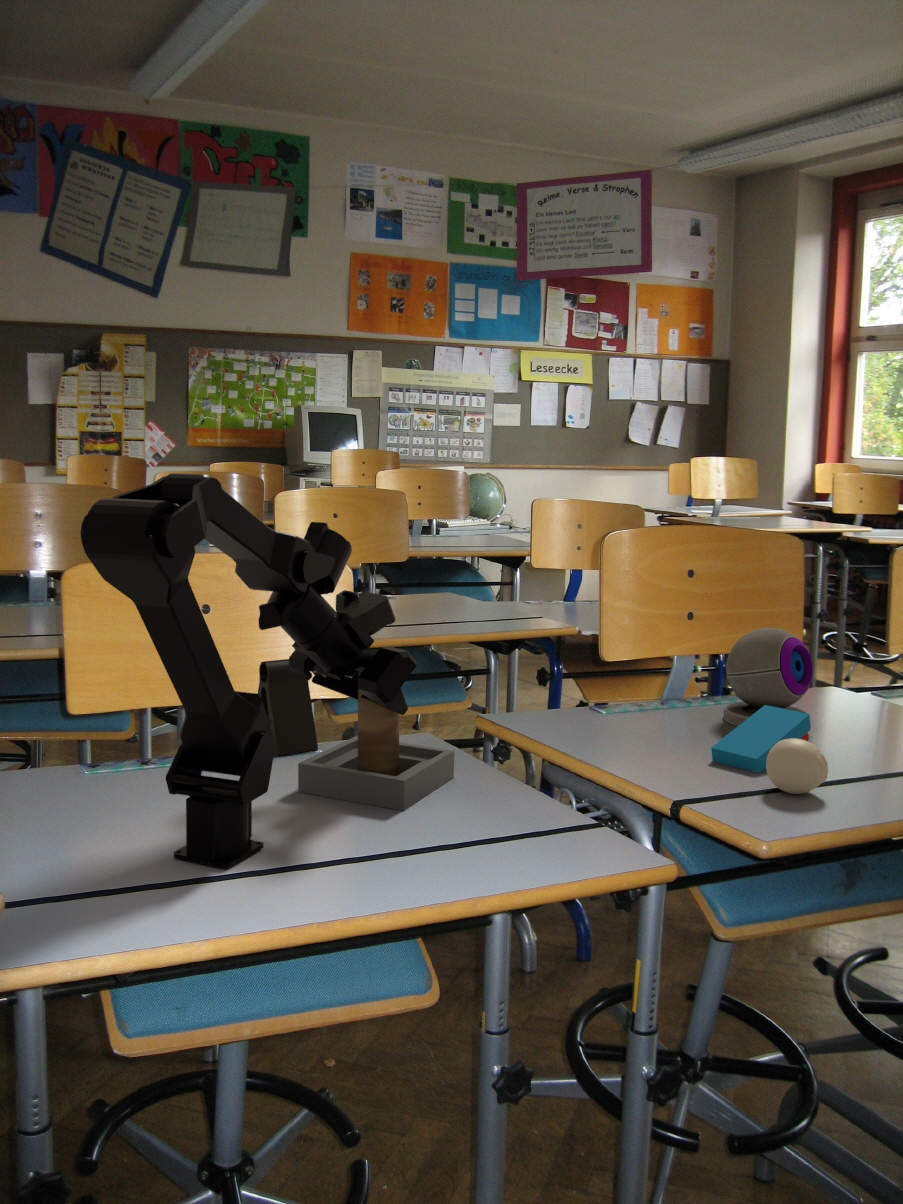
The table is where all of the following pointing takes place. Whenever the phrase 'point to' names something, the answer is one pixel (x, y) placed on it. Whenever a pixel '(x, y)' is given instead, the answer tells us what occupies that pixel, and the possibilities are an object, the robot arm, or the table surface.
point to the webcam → (767, 672)
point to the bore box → (376, 775)
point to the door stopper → (287, 708)
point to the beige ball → (796, 766)
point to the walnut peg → (377, 738)
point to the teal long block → (760, 737)
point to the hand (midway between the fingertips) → (388, 706)
